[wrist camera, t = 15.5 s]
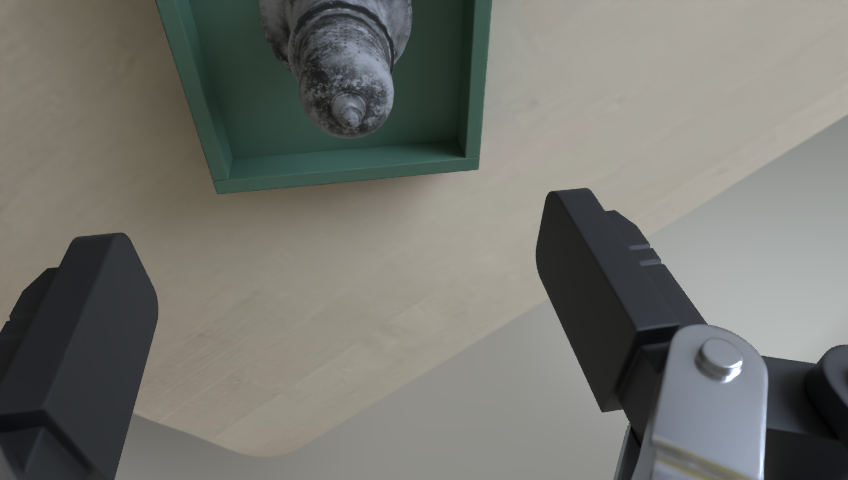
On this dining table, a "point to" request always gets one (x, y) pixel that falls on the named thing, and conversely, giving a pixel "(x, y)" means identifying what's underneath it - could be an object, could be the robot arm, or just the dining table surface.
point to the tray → (289, 124)
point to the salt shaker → (340, 57)
